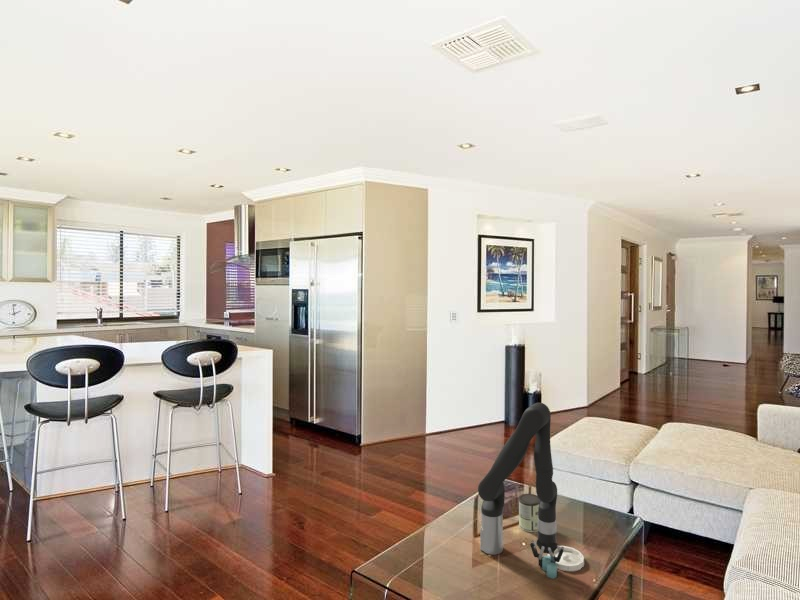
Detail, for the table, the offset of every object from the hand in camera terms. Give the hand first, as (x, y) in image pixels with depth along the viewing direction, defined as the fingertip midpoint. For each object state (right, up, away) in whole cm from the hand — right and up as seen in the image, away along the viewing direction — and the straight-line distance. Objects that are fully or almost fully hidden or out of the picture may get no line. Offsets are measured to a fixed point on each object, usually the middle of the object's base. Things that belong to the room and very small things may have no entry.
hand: (546, 568), depth 217 cm
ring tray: (+9, 0, +5) cm, 11 cm away
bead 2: (+1, -1, -5) cm, 5 cm away
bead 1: (0, 0, 0) cm, 0 cm away
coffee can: (+1, +3, +33) cm, 33 cm away
